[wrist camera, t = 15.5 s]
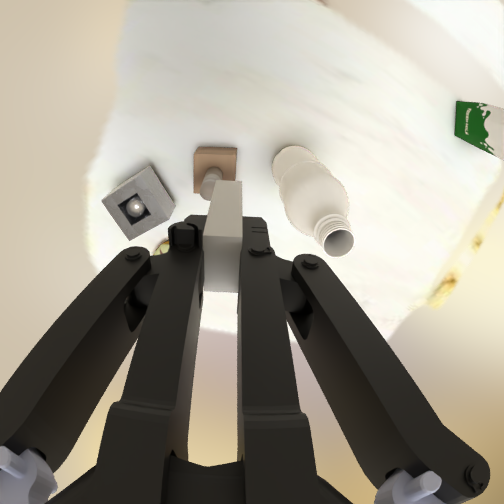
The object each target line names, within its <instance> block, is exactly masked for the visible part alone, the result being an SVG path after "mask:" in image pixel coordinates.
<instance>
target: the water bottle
mask: <svg viewBox="0 0 504 504" xmlns="http://www.w3.org/2000/svg"><path fill="white" fill-rule="evenodd" d="M272 173H273V177H274V180H275V182H276V184H277V185H278V186H279V187H280V188H279V193H280V198H281V200H282V202H283V203H284V208H285V213H286V216H287V218H288V220H289V221H290V223H291V224H292V225H293V226H294V227H295V228H296V229H297V230H298V231H300V232H301V233H303V234H305V235H307V236H311V237H314V239H315V241H316V242H317V243H318V244H319V245H320V246H321V247H322V250H323V251H324V253H325V254H326V255H327V256H330V257H332V258H340V257H343V256H346V255H347V254H348V253H350V252H351V250H352V249H353V247H354V244H355V237H354V235H353V232H352V231H351V228H350V223H349V221H348V220H347V216H348V212H349V199H348V195H347V192H346V190H345V188H344V186H343V185H342V184H341V182H340V181H339V180H337V179H336V178H335V177H334V176H333V175H332V174H331V172H330V171H329V170H328V169H327V168H326V166H324V165H323V164H322V163H320V162H319V161H318V159H317V158H316V156H315V155H314V154H313V153H312V152H311V151H309V150H308V149H306V148H304V147H301V146H289V147H286V148H284V149H282V150H281V152H280V153H279V154H278V155H277V156H275V158H274V160H273V164H272Z"/></svg>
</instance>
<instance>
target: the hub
mask: <svg viewBox="0 0 504 504" xmlns="http://www.w3.org/2000/svg"><path fill="white" fill-rule="evenodd" d="M131 198H132V199H131V200H130V201H129V202H128V204H127V206H126V208H127V212H128V213H129V214H130V215H131V216H133V217H138V216H140V215H141V214H142V213H143V212H144V210H145V209H147V207H146V206H145V204H144V203H143V201H142V200H141V198H140V197H139V195H138V194H137V193H136V194H134V195H132V196H131Z"/></svg>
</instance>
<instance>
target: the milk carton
mask: <svg viewBox="0 0 504 504" xmlns="http://www.w3.org/2000/svg"><path fill="white" fill-rule="evenodd" d="M455 136H457V137H459V138H461V139H463V140H465V141H466V142H468V143H470V144H472V145H474V146H476V147H478V148H480V149H482V150H484V151H486V152H488V153H490V154H492V155H494V156H496V157H498V158H500V159H502V160H504V109H502V108H498V107H495V106H492V105H488V104H484V103H476V102H461V101H456V124H455Z"/></svg>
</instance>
